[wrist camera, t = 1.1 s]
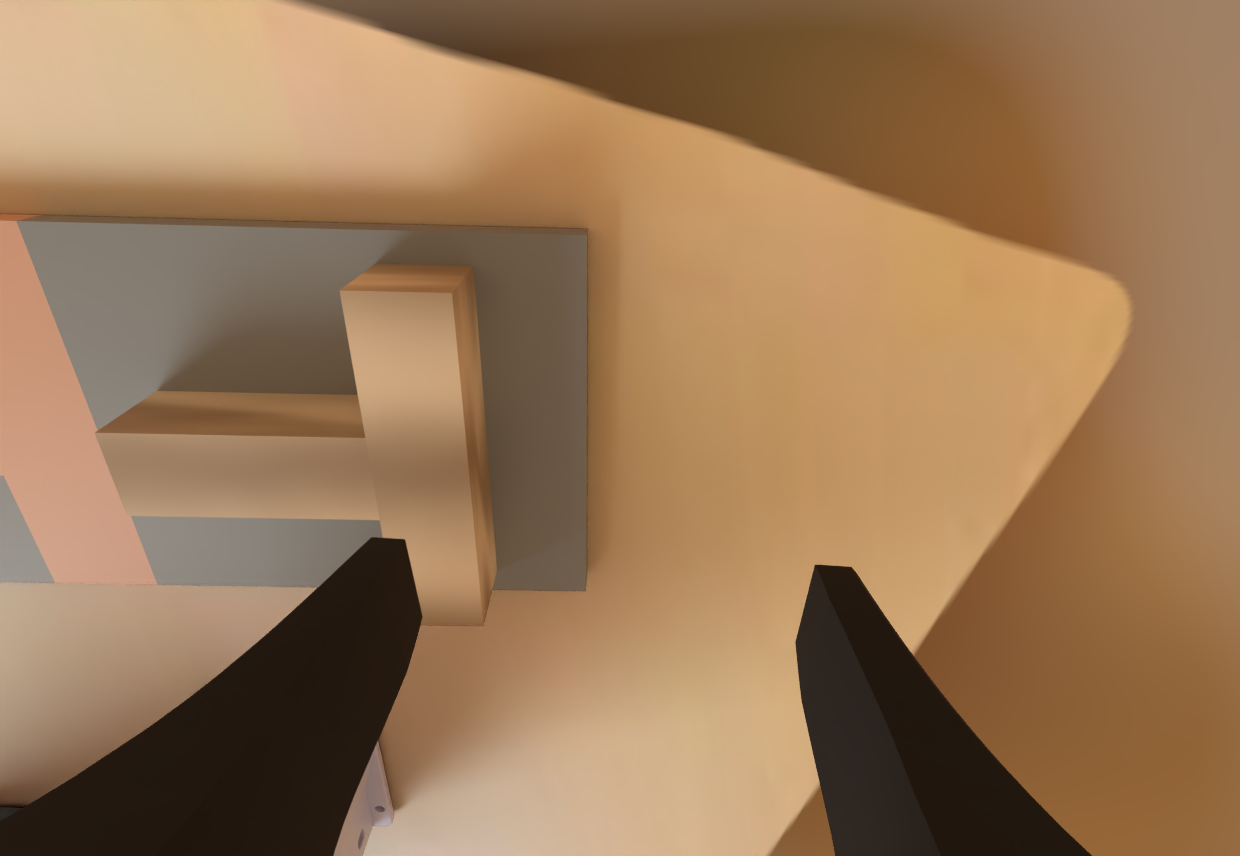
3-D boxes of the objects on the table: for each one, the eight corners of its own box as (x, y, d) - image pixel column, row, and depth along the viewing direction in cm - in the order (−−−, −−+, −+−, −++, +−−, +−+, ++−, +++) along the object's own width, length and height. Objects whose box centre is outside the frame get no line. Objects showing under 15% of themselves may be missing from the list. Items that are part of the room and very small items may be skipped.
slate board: (586, 574, 27) (586, 591, 26) (-201, 562, 27) (-229, 578, 26) (588, 228, 21) (586, 235, 20) (-454, 202, 20) (-503, 207, 19)
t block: (497, 570, 26) (483, 626, 23) (214, 565, 26) (168, 621, 23) (473, 265, 20) (451, 293, 18) (112, 256, 20) (35, 283, 17)
